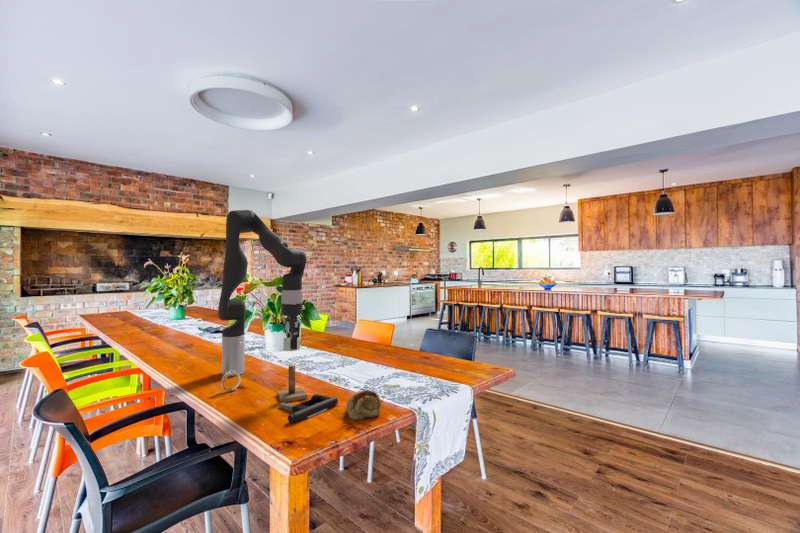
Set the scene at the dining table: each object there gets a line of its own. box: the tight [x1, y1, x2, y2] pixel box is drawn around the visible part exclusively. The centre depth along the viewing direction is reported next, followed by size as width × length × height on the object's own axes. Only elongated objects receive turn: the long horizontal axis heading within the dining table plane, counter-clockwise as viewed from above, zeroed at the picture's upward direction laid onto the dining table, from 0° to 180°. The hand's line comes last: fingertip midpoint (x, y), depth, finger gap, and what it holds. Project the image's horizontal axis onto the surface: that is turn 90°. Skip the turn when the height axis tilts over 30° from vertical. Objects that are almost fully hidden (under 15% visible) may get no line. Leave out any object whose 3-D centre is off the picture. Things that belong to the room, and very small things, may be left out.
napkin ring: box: [283, 336, 301, 352], centre depth 136 cm, size 6×6×4 cm
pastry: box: [345, 389, 382, 421], centre depth 123 cm, size 14×12×8 cm
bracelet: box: [221, 370, 242, 392], centre depth 142 cm, size 7×3×8 cm, turn 132°
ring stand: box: [276, 364, 308, 403], centre depth 136 cm, size 9×9×12 cm
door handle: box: [278, 393, 339, 424], centre depth 125 cm, size 3×20×16 cm
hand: (291, 347), depth 136 cm, fingers closed on napkin ring, 5 cm apart
